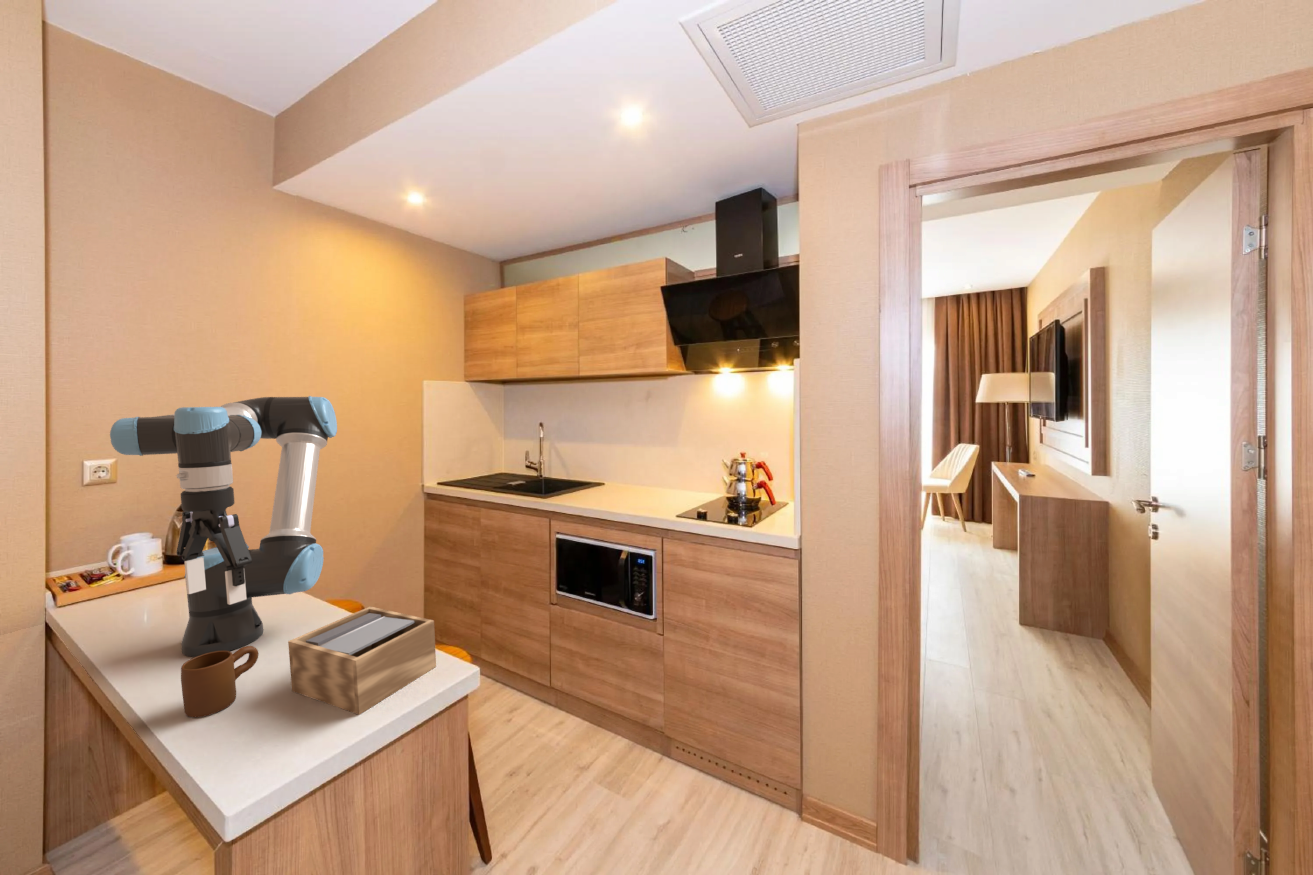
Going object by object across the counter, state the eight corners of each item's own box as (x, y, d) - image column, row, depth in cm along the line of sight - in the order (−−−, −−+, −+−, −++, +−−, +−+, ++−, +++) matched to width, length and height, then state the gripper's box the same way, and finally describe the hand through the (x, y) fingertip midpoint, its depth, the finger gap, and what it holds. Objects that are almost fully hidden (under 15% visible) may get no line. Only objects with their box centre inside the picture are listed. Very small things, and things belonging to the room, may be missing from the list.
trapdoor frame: (291, 691, 101) (288, 641, 100) (373, 649, 118) (370, 606, 117) (359, 714, 93) (356, 660, 93) (436, 666, 110) (433, 620, 109)
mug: (251, 680, 105) (247, 637, 105) (270, 689, 102) (266, 645, 101) (176, 712, 95) (172, 664, 94) (195, 723, 91) (190, 674, 91)
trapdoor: (305, 659, 101) (303, 641, 101) (373, 628, 115) (371, 612, 115) (350, 669, 96) (348, 649, 96) (415, 634, 109) (414, 617, 109)
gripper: (147, 487, 96) (157, 594, 98) (221, 495, 87) (231, 614, 88) (195, 481, 103) (203, 581, 105) (269, 488, 94) (277, 598, 95)
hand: (216, 596), depth 97 cm, fingers open, 13 cm apart
